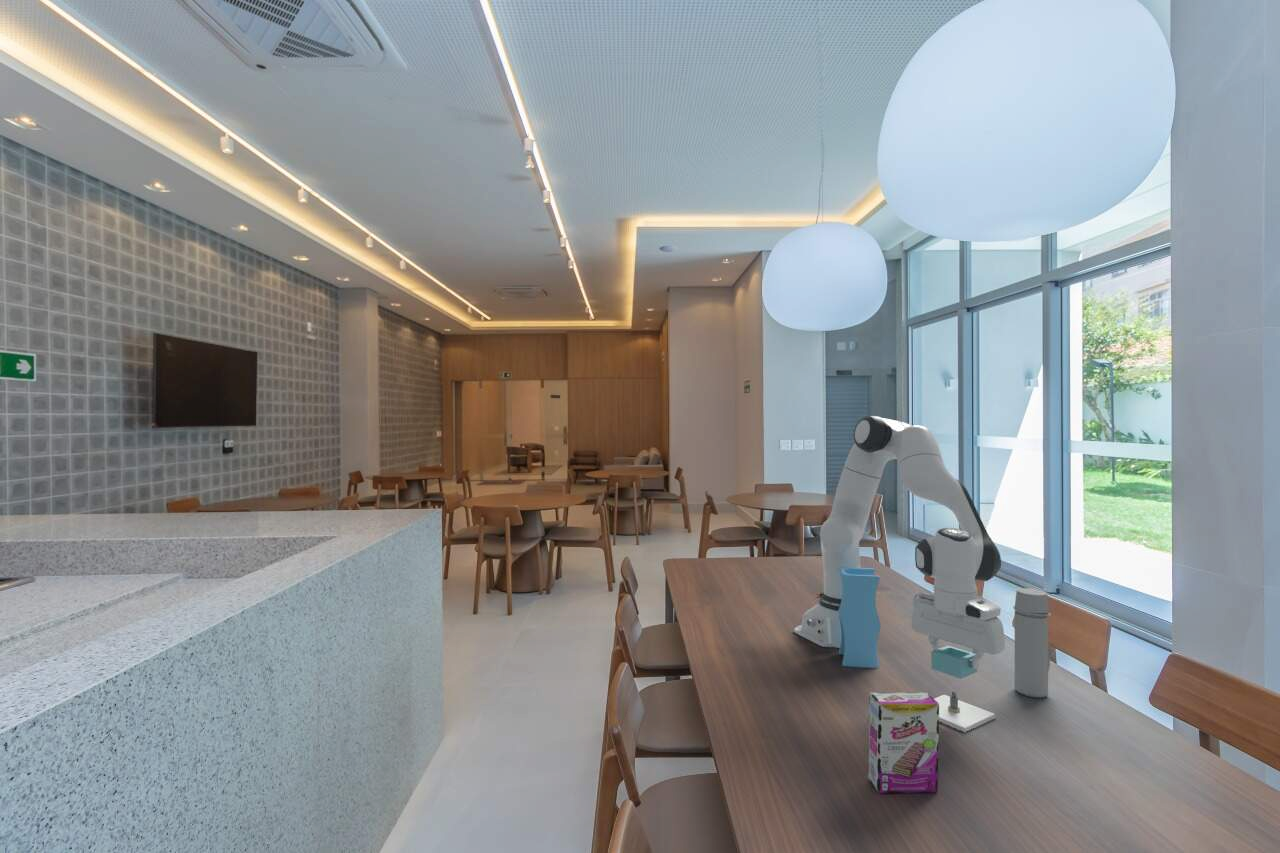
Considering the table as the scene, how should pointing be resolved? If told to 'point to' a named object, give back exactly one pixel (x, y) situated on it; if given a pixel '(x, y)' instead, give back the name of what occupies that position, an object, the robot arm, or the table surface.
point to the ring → (952, 661)
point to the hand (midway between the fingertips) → (955, 661)
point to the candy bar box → (903, 742)
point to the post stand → (961, 713)
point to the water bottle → (1031, 642)
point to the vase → (859, 617)
